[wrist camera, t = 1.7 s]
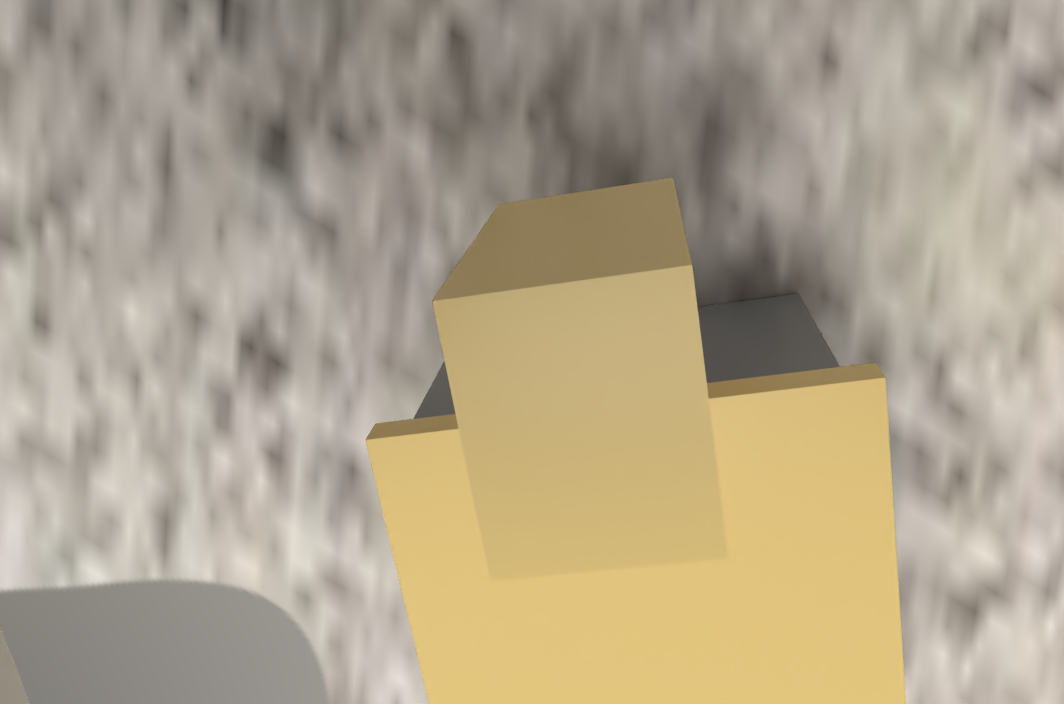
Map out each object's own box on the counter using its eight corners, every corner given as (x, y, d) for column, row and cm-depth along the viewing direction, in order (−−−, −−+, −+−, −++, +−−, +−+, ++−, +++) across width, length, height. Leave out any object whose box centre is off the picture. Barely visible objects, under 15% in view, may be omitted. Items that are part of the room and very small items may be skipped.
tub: (456, 339, 33) (402, 438, 25) (798, 293, 31) (850, 385, 23) (533, 715, 37) (506, 894, 30) (833, 692, 36) (887, 876, 28)
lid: (329, 230, 23) (185, 335, 16) (861, 148, 22) (981, 224, 14) (490, 908, 30) (441, 1211, 22) (910, 889, 28) (1010, 1211, 21)
